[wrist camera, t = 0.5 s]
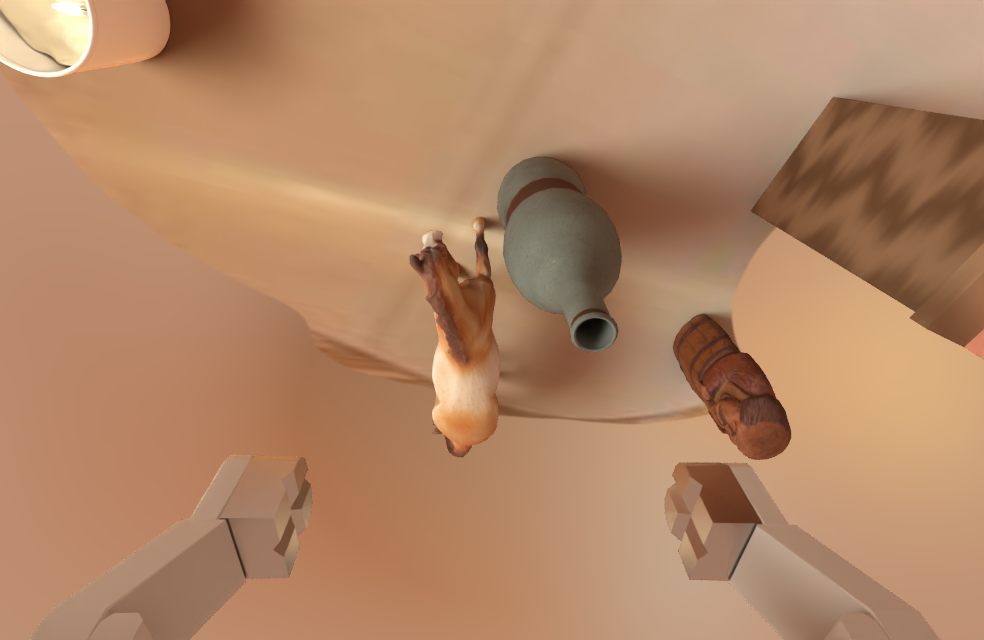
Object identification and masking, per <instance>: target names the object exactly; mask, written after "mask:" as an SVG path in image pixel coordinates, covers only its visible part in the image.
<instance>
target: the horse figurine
mask: <svg viewBox="0 0 984 640" xmlns="http://www.w3.org/2000/svg"><path fill="white" fill-rule="evenodd" d="M472 227H473V229H474V231H475V232H476V236H477V238H476V243H475V250H476V255H477V261H476V277H475V279H468V280H465V281H464V282H462V283H460V284H459V282H458V278H459V270H460V269H459V265H458V264H457V263H456V262H455V260H454V259H453V257H452V256H451V254H450V253H449V251H448V250H447V247H446V245H445V244H443V242H442V235H443V234H442V232H440V231H438V230H431V231H429V232H427V233H426V234H425V235H424V236H423V238H422V240H423V243H424V247H423V249H422V250H421V252H420V253H418V254H415V255H411V256H410V264H411V266H412V267H413V268H414V269H415V270H416V271H417V272H418V273H419V275H420V276H421V277H422V278H423V280H424V281H425V283H426V286H427V289H428V295H427V297H426V300H427V301H428V302H429V303H430V304H431V306H432V308H433V310H434V316H435V321H436V327H437V331H438V335H439V343H438V346H437V348H436V352H435V356H434V361H433V370H432V378H433V382H434V386H435V391H436V403H435V406H434V408H433V410H432V417H433V425H435V426H436V428H435V429H434V431H433V432H432V434H441V433H442V434H444V436H445V439H446V444H447V448H448V451H449V452H450V453H451V454H452V455H453V456H457V457H463V456H464V455H466V453H468V452H469V450H470V449H471V447H472V445H475V444H478V443H481V442H483V441H485V440H486V439H488V438H489V437H490V436H491V435H492V434H493V433H494V431H495V430H496V427H497V420H498V412H499V411H498V400H497V397H496V394H495V391H496V389H497V385H498V380H499V376H500V353H499V349H498V345H497V343H496V340H495V337H494V334H493V331H492V328H491V327H492V321H493V311H494V305H495V296H496V294H495V289H494V286H493V282H492V280H491V279H490V278H491V267H490V262H489V258H488V247H487V244H486V242H485V240H484V228H485V221H484V219H483V218H481V217H479V218H476V219H474V220H473V223H472Z"/></svg>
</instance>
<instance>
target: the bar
mask: <svg viewBox="0 0 984 640" xmlns="http://www.w3.org/2000/svg"><path fill="white" fill-rule="evenodd" d="M965 348H966V349H968V350H970V351H971V352H973V353H974V354H976V355H978V356H979V357H981V358H982V359H984V329H983V330H982V331H981V332H980V333H979V334H978V335H977V336H976V337H975V338H974V339H973V340H971V341H970V342H969V343H968V344H967V345H966V346H965Z"/></svg>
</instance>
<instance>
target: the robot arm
mask: <svg viewBox="0 0 984 640" xmlns="http://www.w3.org/2000/svg"><path fill="white" fill-rule="evenodd" d="M307 471H308V468H307V463H306V459H305V458H303V457H288V456H264V455H255V456H254V455H253V456H251V455H231V456H230V457H228V458H227V459H226V460H225V461H224V462H223V464H222V466H221V467H220V469H219V471H218V472H217V474H216V476H215V478H214V479H213V481H212V482H211V484H210V486H209V487H208V489H207V491H206V493H205V494H204V496H203V497H202V499H201V501H200V502H199V504H198V506H197V508H196V509H195V511H194V513H193V514H192V516H191V518H190V519H182V520H180V521H179V522H177V523H176V524H174V525H173V526H172V527H170V528H169V529H167V530H166V531H164V532H163V533H161V534H160V535H158V536H157V537H156V538H154V539H153V540H152V541H150V542H148V543H147V544H146V545H144V546H143V547H141V548H140V549H138V550H137V551H136V552H134V553H133V554H131V555H130V556H128V557H127V558H125V559H124V560H122V561H121V562H119V563H118V564H117V565H115V566H114V567H112V568H111V569H109V570H108V571H106V572H105V573H104V574H102V575H101V576H99V577H98V578H96V579H95V580H94V581H92V582H91V583H89V584H88V585H86V586H85V587H83V588H82V589H81V590H79V591H78V592H76V593H75V594H73V595H72V596H70V597H69V598H67V599H66V600H65V601H63V602H62V603H60V604H59V605H58V606H56V607H55V608H53V609H52V610H50V612H49V613H48V614H47V616H46V617H45V618H44V620H43V621H42V622H41V624H40V625H39V626H38V628H37V629H36V630H35V632H34V633H33V634H32V636H31V637H30V638H29V640H190V639H191V638H192V637H193V636H194V635H195V634H196V632H197V631H198V630H199V629H200V628H201V627H202V626H203V625H204V624H205V623H206V622H207V621H208V620H209V619H210V618H211V617H212V616H213V615H214V614H215V613H216V612H217V611H218V610H219V609H220V608H221V607H222V606H223V605H224V604H225V603H226V602H227V601H228V600H229V599H230V598H231V597H232V596H233V595H234V593H235V592H236V591H237V590H238V589H239V588H240V587H241V586H242V585H243V584H244V583H245V582H246V579H262V578H289V577H290V574H291V571H292V568H293V565H294V562H295V559H296V557H297V554H298V551H299V544H298V539H297V536H299V535H300V534H301V533H302V532H303V531H304V530H306V528H307V525H308V522H309V518H310V514H311V507H312V488H311V484H310V483H309V482H308V481H307V480H305V476H306V473H307ZM673 477H674V480H675V482H676V483H675V484H673V485H672V486H671V487H670V488H668V490H667V493H666V497H665V515H666V519H667V523H668V526H669V528H670V531H671V533H672V534H673V535H675V536H676V537H677V538H678V539H679V540H680V541H681V544H680V547H679V550H678V552H679V554H680V557H681V559H682V562H683V564H684V567H685V569H686V572H687V574H688V577H689V579H690V580H719V581H730V582H729V584H730V585H731V586H732V587H733V588H734V589H735V590H736V591H737V592H738V593H739V594H740V595H741V596H742V597H743V598H744V599H745V600H746V601H747V602H748V603H749V604H750V605H751V606H752V607H753V608H754V609H755V611H756V612H758V614H759V615H760V616H761V617H762V618H763V619H765V621H766V622H767V623H768V624H769V625H770V626H771V627H772V628H773V629H774V630H775V631H776V632H777V633H778V634H779V635H780V636H781V637H782V638H783V639H784V640H941V639H940V638H939V637H938V635H937V634H936V633H935V632H934V630H933V629H932V628H931V626H930V625H929V624H928V622H927V621H926V620H925V619H924V617H923V616H922V615H921V613H920V612H919V611H917V610H916V609H915V608H913V607H912V606H910V605H909V604H907V603H906V602H905V601H903V600H902V599H900V598H899V597H897V596H896V595H895V594H893V593H892V592H890V591H889V590H887V589H886V588H884V587H883V586H882V585H880V584H879V583H877V582H876V581H875V580H873V579H872V578H870V577H869V576H868V575H866V574H865V573H863V572H862V571H860V570H859V569H858V568H856V567H855V566H853V565H852V564H851V563H849V562H848V561H846V560H845V559H843V558H842V557H840V556H839V555H838V554H836V553H835V552H833V551H832V550H831V549H829V548H828V547H826V546H825V545H823V544H822V543H821V542H819V541H818V540H816V539H815V538H814V537H812V536H811V535H809V534H808V533H806V532H805V531H804V530H802V529H801V528H799V527H798V526H796V525H789V524H788V522H787V521H786V519H785V518H784V516H783V515H782V513H781V512H780V510H779V509H778V507H777V506H776V504H775V503H774V501H773V499H772V498H771V496H770V495H769V493H768V492H767V490H766V489H765V487H764V485H763V484H762V482H761V481H760V479H759V478H758V476H757V475H756V473H755V472H754V470H753V468H752V467H751V466H750V465H748V464H747V463H678V464H677V465H676V466H675V469H674V472H673Z"/></svg>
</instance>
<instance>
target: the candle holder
mask: <svg viewBox="0 0 984 640" xmlns="http://www.w3.org/2000/svg"><path fill="white" fill-rule="evenodd" d="M169 35H170V15H169V10H168V7H167V4H166V1H165V0H0V61H1V62H3V63H4V64H6V65H8V66H10V67H12V68H14V69H16V70H19V71H21V72H24V73H27V74H30V75H34V76H40V77H59V76H64V75H68V74H70V73H76V72H82V71H88V70H94V69H100V68H105V67H111V66H117V65H123V64H129V63H134V62H139V61H144V60H147V59H150V58H152V57H154V56H156V55H157V54H159V53H160V52H161V51H162V50H163V48H164V47H165V45H166V43H167V41H168V38H169Z"/></svg>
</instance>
